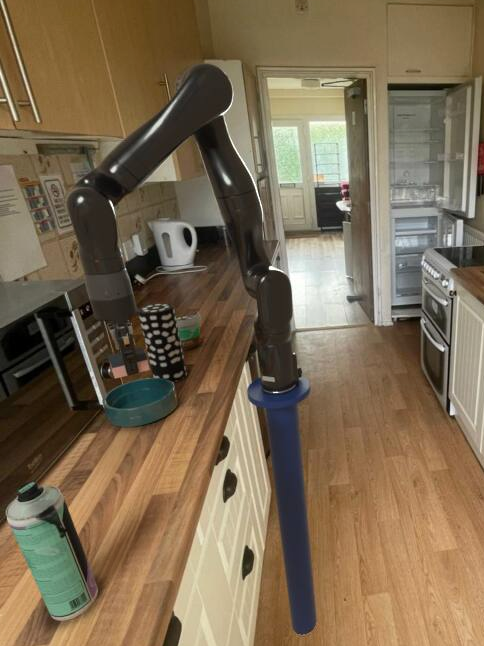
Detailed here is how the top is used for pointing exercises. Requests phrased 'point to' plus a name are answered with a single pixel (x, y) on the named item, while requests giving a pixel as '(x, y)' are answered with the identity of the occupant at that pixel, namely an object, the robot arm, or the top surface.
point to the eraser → (118, 363)
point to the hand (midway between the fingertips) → (131, 369)
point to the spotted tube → (162, 341)
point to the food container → (189, 330)
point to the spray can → (52, 550)
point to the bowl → (140, 402)
